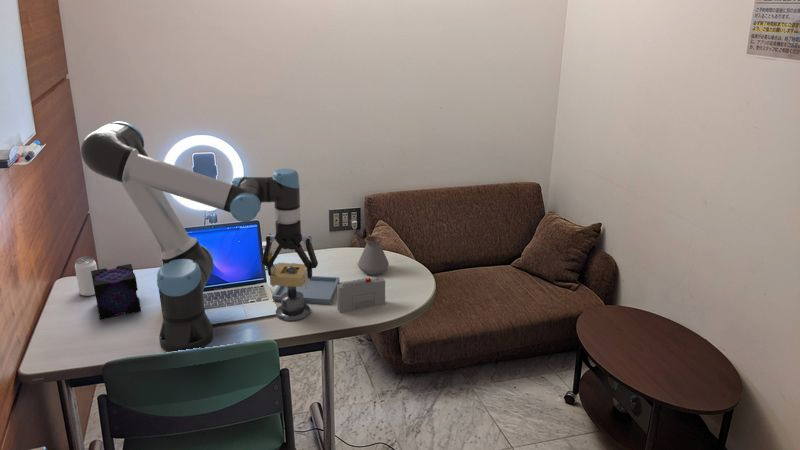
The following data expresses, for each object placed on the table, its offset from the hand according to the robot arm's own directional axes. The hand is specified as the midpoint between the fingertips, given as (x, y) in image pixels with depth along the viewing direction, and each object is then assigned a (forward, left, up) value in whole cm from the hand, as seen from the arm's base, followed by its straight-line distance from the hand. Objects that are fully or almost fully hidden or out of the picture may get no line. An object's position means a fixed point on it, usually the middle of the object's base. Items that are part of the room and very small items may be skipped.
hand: (290, 285), depth 189 cm
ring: (+1, 0, +2) cm, 3 cm away
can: (+6, +72, -10) cm, 73 cm away
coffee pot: (+39, -20, -10) cm, 45 cm away
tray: (+15, -1, -10) cm, 18 cm away
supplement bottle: (+33, +19, -10) cm, 39 cm away
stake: (0, 0, -10) cm, 10 cm away
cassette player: (+7, -22, -10) cm, 25 cm away
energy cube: (-3, +57, -10) cm, 58 cm away
